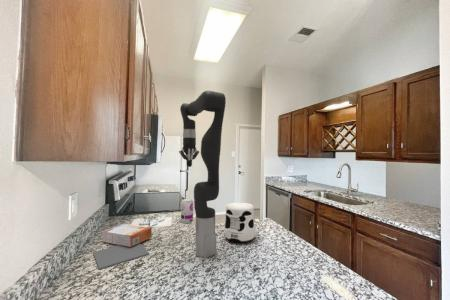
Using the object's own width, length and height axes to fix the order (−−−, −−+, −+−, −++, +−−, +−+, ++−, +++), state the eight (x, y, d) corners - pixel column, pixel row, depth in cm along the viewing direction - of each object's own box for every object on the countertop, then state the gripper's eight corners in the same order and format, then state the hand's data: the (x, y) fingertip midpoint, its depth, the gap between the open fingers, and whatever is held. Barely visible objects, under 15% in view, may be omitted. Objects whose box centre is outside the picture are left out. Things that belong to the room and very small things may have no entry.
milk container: (248, 231, 123) (248, 201, 124) (260, 243, 107) (260, 208, 107) (220, 233, 119) (220, 202, 119) (229, 246, 102) (229, 210, 103)
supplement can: (195, 220, 143) (195, 198, 144) (190, 224, 135) (190, 201, 136) (184, 219, 146) (184, 198, 146) (178, 223, 138) (179, 200, 138)
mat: (149, 254, 94) (149, 253, 94) (99, 269, 82) (99, 268, 82) (137, 241, 108) (137, 240, 108) (93, 253, 96) (93, 251, 96)
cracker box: (152, 238, 112) (125, 233, 120) (152, 226, 112) (125, 222, 121) (130, 248, 99) (102, 242, 108) (130, 235, 99) (102, 230, 108)
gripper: (182, 136, 114) (182, 167, 114) (202, 137, 123) (202, 166, 122) (176, 137, 120) (176, 166, 120) (195, 138, 128) (195, 166, 128)
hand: (189, 166), depth 121 cm, fingers closed
